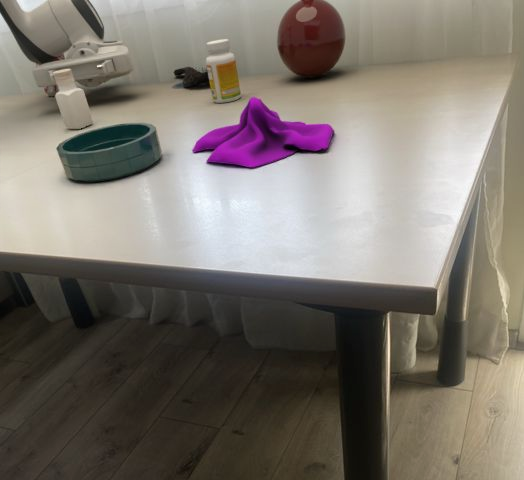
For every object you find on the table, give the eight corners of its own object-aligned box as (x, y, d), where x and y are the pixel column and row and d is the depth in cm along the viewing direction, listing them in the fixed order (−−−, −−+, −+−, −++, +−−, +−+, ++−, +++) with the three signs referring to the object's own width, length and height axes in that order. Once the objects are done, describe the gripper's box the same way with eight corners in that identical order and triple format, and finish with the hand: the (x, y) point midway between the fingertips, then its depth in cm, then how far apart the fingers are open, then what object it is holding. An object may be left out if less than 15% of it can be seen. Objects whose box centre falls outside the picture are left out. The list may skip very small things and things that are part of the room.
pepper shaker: (65, 129, 99) (45, 73, 93) (80, 123, 101) (63, 68, 96) (79, 130, 97) (60, 72, 91) (95, 123, 100) (77, 67, 94)
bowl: (58, 191, 70) (47, 160, 67) (76, 160, 81) (66, 133, 78) (160, 172, 70) (152, 141, 67) (164, 144, 81) (157, 117, 78)
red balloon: (267, 83, 107) (252, -38, 95) (312, 68, 113) (303, -48, 102) (315, 86, 99) (306, -47, 87) (360, 70, 105) (357, -56, 93)
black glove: (191, 58, 130) (227, 61, 110) (195, 75, 132) (231, 81, 112) (159, 66, 128) (190, 70, 108) (163, 83, 130) (194, 90, 110)
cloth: (360, 142, 68) (359, 90, 64) (225, 180, 64) (216, 127, 60) (288, 113, 85) (284, 71, 82) (178, 141, 81) (168, 98, 77)
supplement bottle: (246, 95, 101) (237, 37, 95) (232, 103, 97) (222, 42, 92) (222, 96, 103) (212, 39, 98) (207, 103, 100) (196, 45, 94)
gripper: (35, 56, 114) (19, 65, 103) (129, 39, 114) (123, 47, 103) (47, 87, 118) (32, 100, 106) (138, 71, 118) (132, 82, 107)
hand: (78, 74), depth 105 cm, fingers open, 8 cm apart
